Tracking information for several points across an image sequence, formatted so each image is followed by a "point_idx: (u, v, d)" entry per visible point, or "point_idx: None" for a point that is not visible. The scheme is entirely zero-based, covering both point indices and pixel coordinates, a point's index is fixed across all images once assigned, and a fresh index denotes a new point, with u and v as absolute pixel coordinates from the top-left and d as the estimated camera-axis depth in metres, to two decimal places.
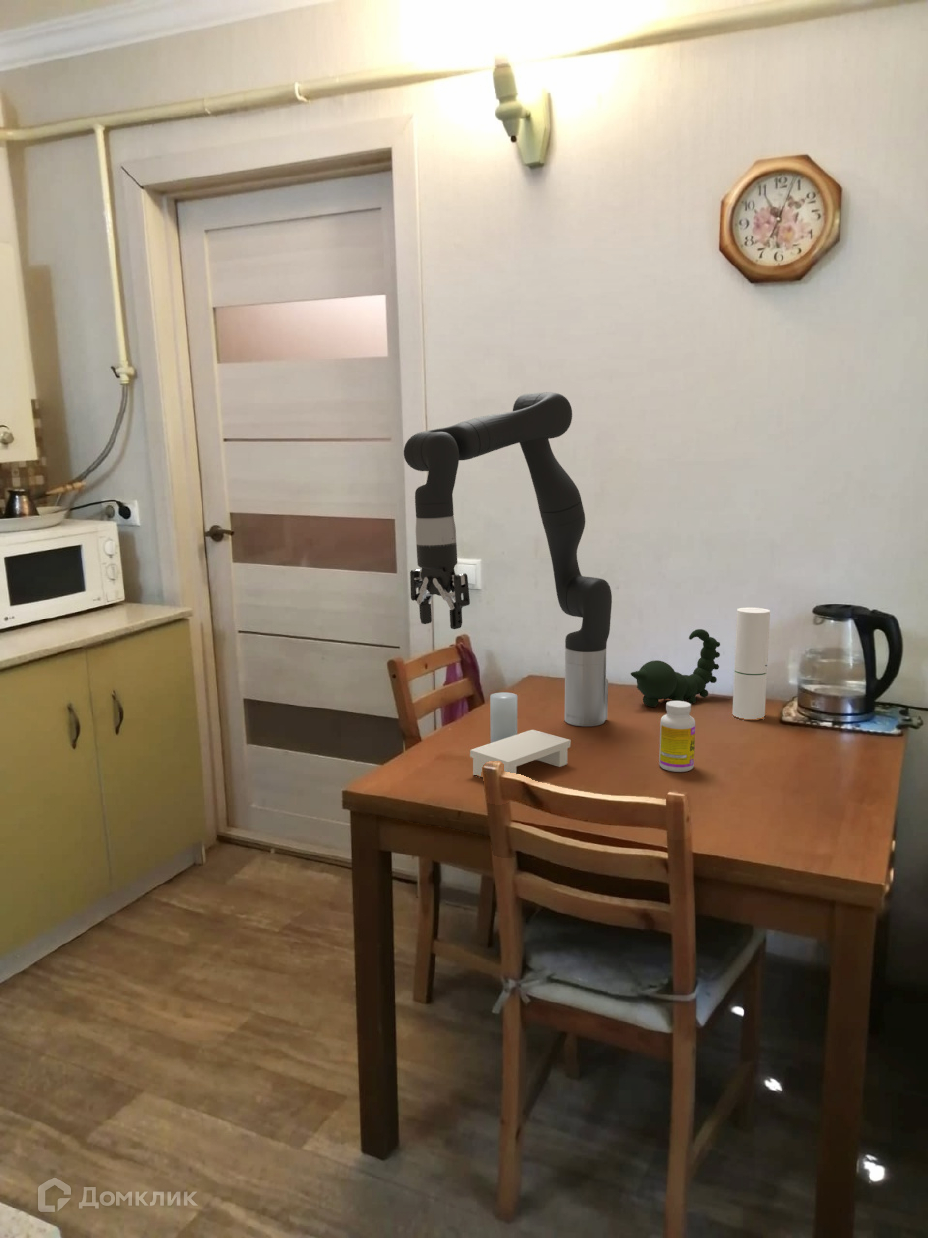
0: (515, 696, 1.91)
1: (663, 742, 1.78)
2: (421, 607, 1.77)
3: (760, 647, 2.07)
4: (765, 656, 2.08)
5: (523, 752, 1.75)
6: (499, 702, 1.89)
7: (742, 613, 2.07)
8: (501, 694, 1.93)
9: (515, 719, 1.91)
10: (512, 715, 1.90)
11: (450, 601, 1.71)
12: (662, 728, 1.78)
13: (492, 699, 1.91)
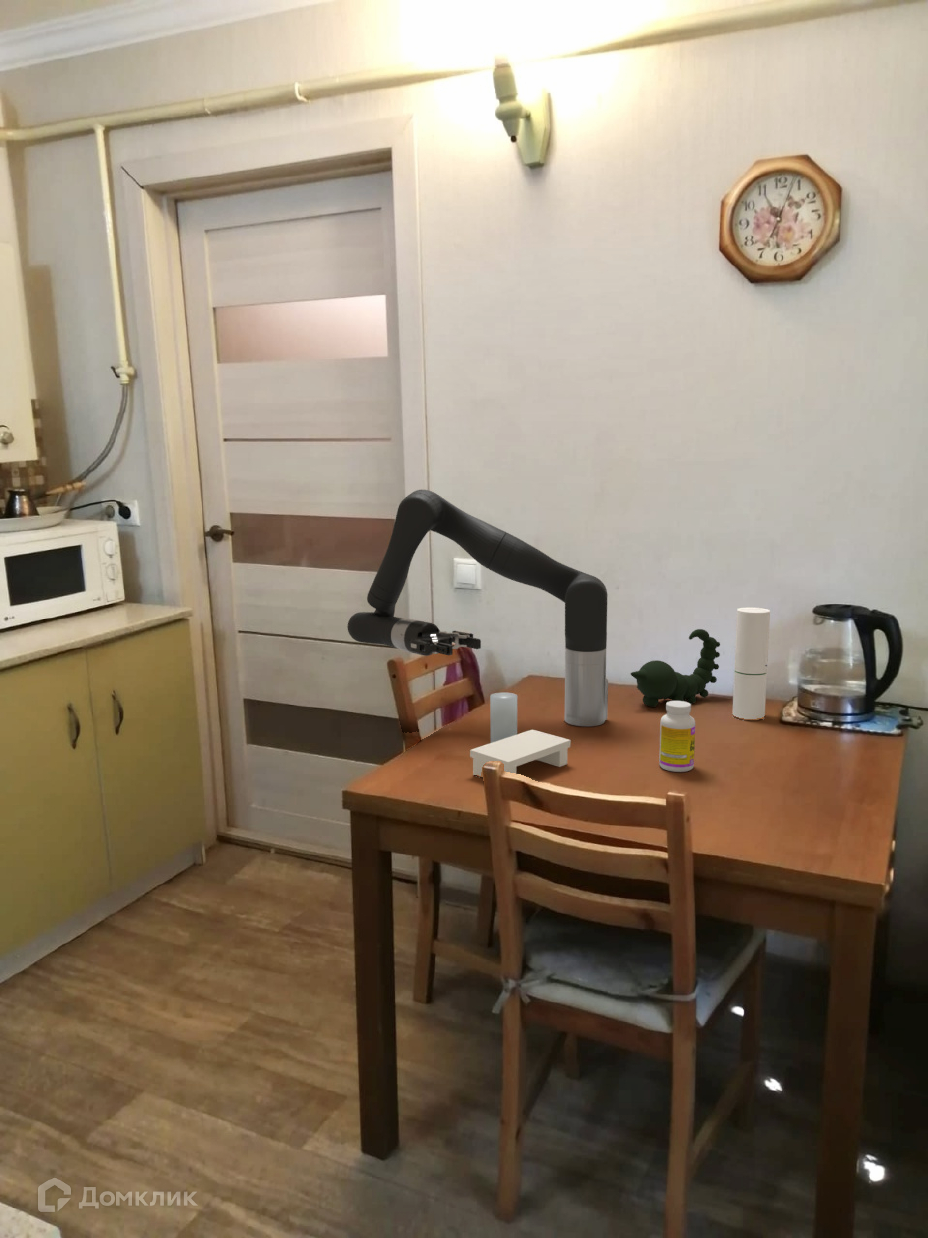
0: (515, 696, 1.91)
1: (663, 742, 1.78)
2: None
3: (760, 647, 2.07)
4: (765, 656, 2.08)
5: (523, 752, 1.75)
6: (499, 702, 1.89)
7: (742, 613, 2.07)
8: (501, 694, 1.93)
9: (515, 719, 1.91)
10: (512, 715, 1.90)
11: None
12: (662, 728, 1.78)
13: (492, 699, 1.91)
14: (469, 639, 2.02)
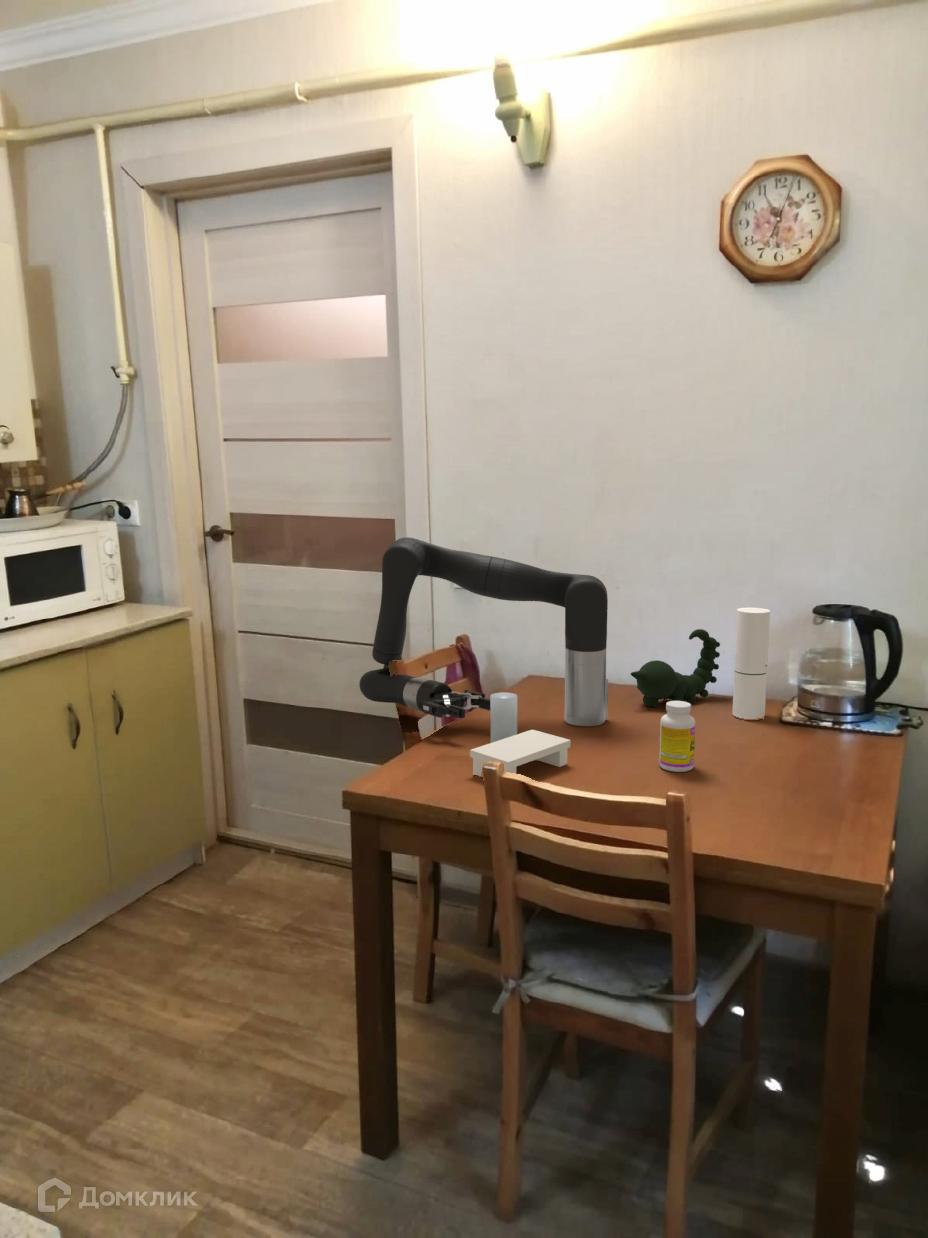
0: (515, 696, 1.91)
1: (663, 742, 1.78)
2: None
3: (760, 647, 2.07)
4: (765, 656, 2.08)
5: (523, 752, 1.75)
6: (499, 702, 1.89)
7: (742, 613, 2.07)
8: (501, 694, 1.93)
9: (515, 719, 1.91)
10: (512, 715, 1.90)
11: None
12: (662, 728, 1.78)
13: (492, 699, 1.91)
14: (481, 700, 2.03)
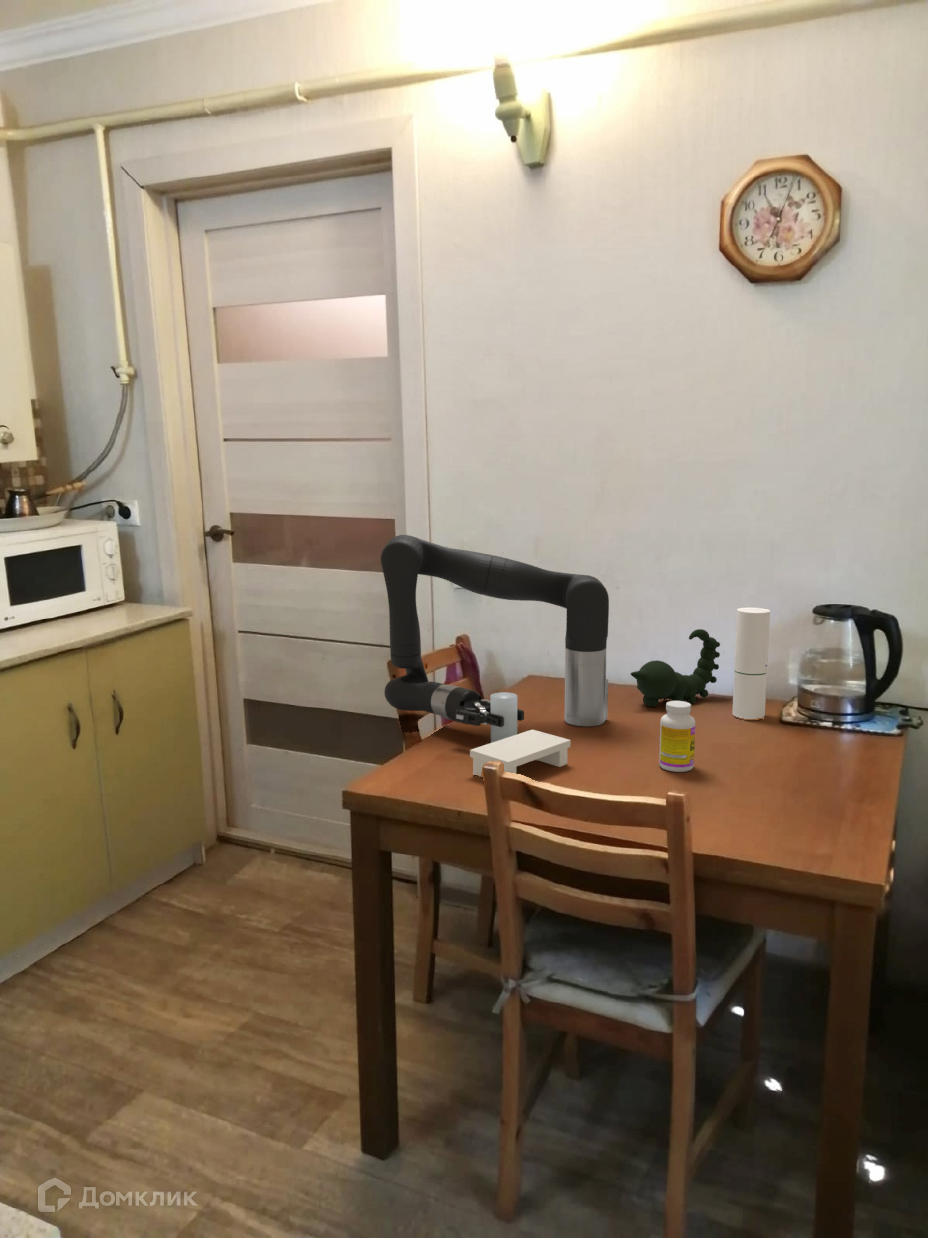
0: (515, 696, 1.91)
1: (663, 742, 1.78)
2: None
3: (760, 647, 2.07)
4: (765, 656, 2.08)
5: (523, 752, 1.75)
6: (499, 702, 1.89)
7: (742, 613, 2.07)
8: (501, 694, 1.93)
9: (515, 719, 1.91)
10: (512, 715, 1.90)
11: None
12: (662, 728, 1.78)
13: (492, 699, 1.90)
14: None
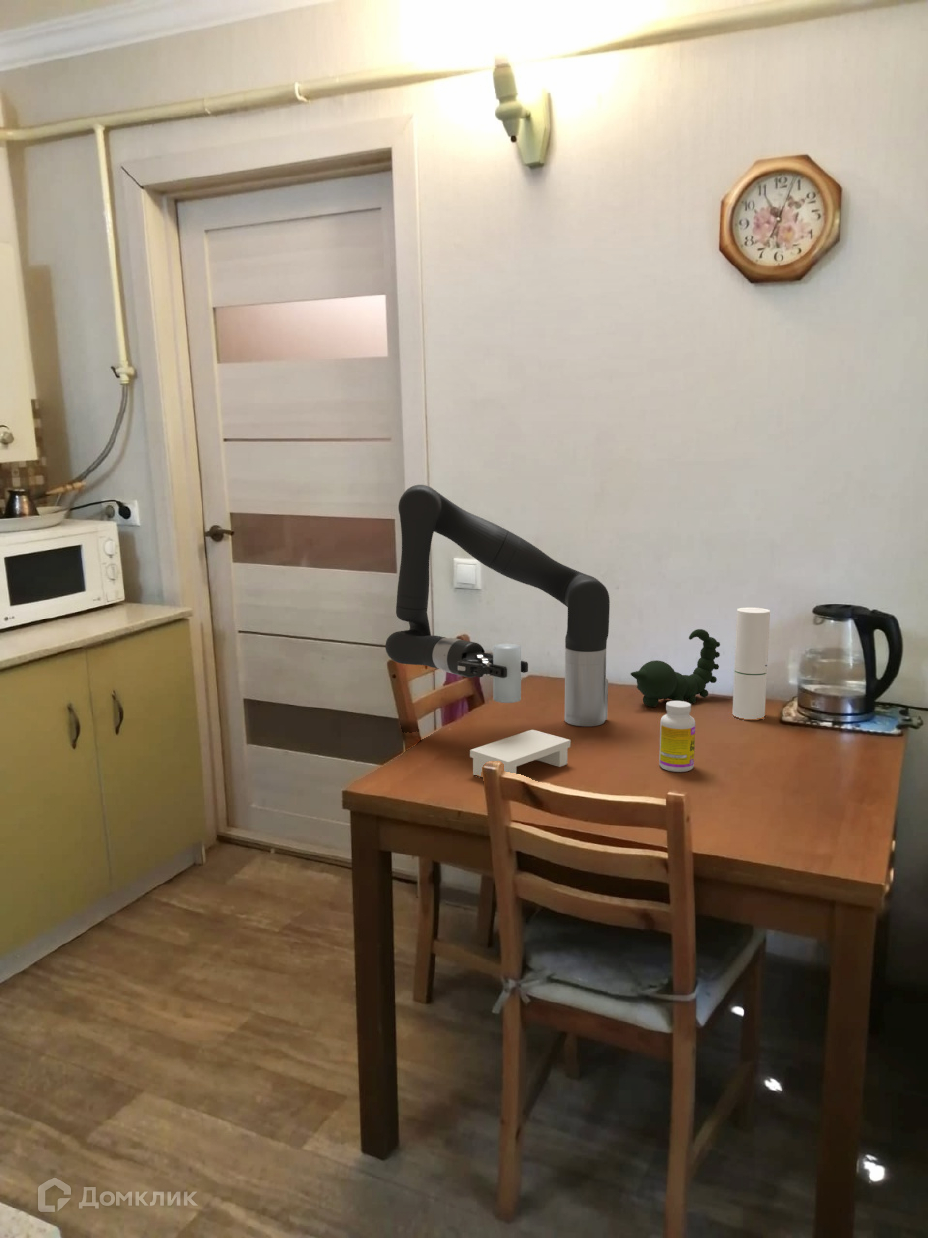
0: (519, 646, 1.85)
1: (663, 742, 1.78)
2: None
3: (760, 647, 2.07)
4: (765, 656, 2.08)
5: (523, 752, 1.75)
6: (502, 653, 1.83)
7: (742, 613, 2.07)
8: (504, 645, 1.87)
9: (519, 671, 1.85)
10: (515, 665, 1.84)
11: None
12: (662, 728, 1.78)
13: (495, 649, 1.85)
14: None
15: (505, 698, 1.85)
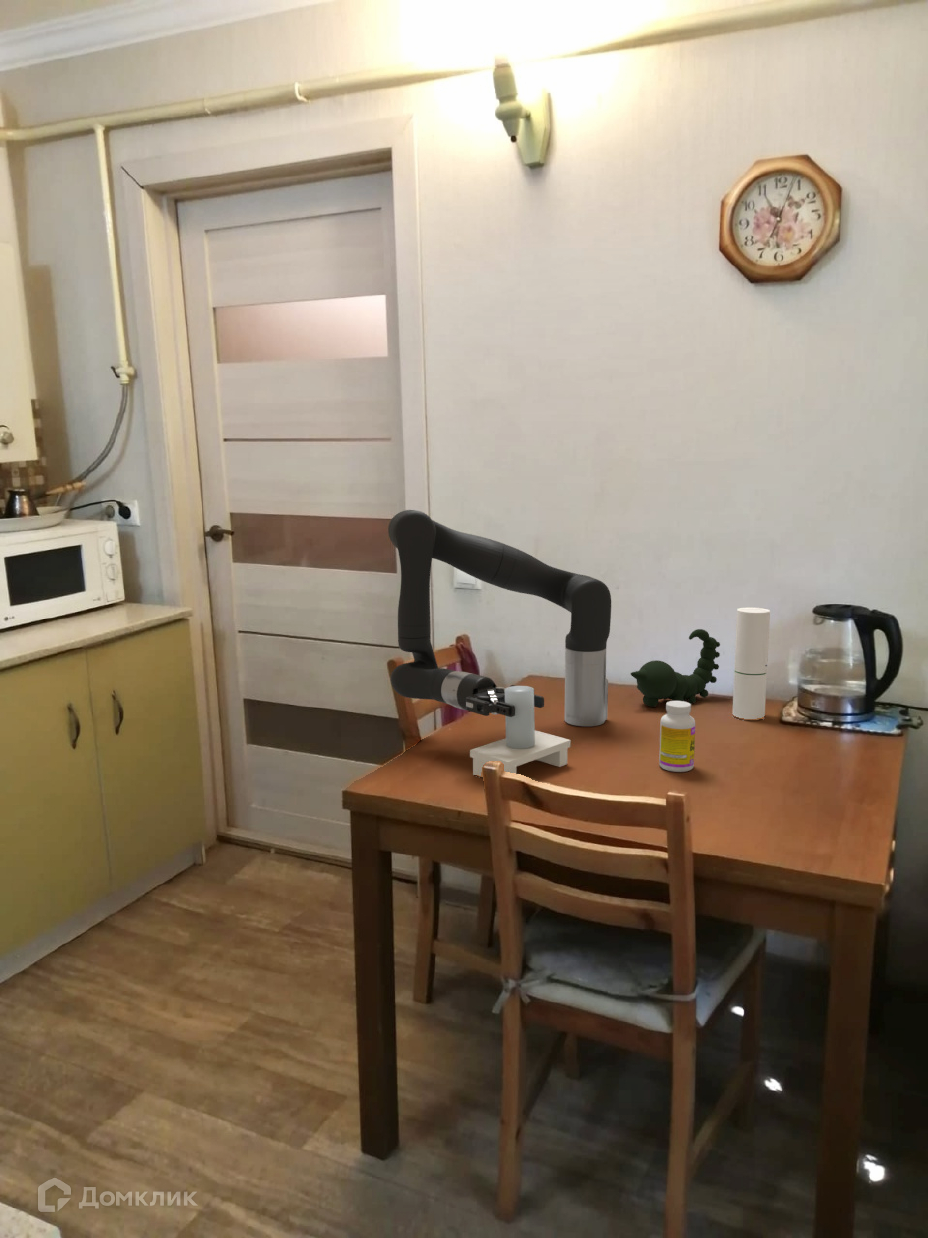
0: (531, 689, 1.77)
1: (663, 742, 1.78)
2: None
3: (760, 647, 2.07)
4: (765, 656, 2.08)
5: (523, 752, 1.75)
6: (515, 696, 1.75)
7: (742, 613, 2.07)
8: (516, 688, 1.78)
9: (532, 714, 1.76)
10: (528, 709, 1.76)
11: None
12: (662, 728, 1.78)
13: (506, 693, 1.76)
14: None
15: (518, 744, 1.76)
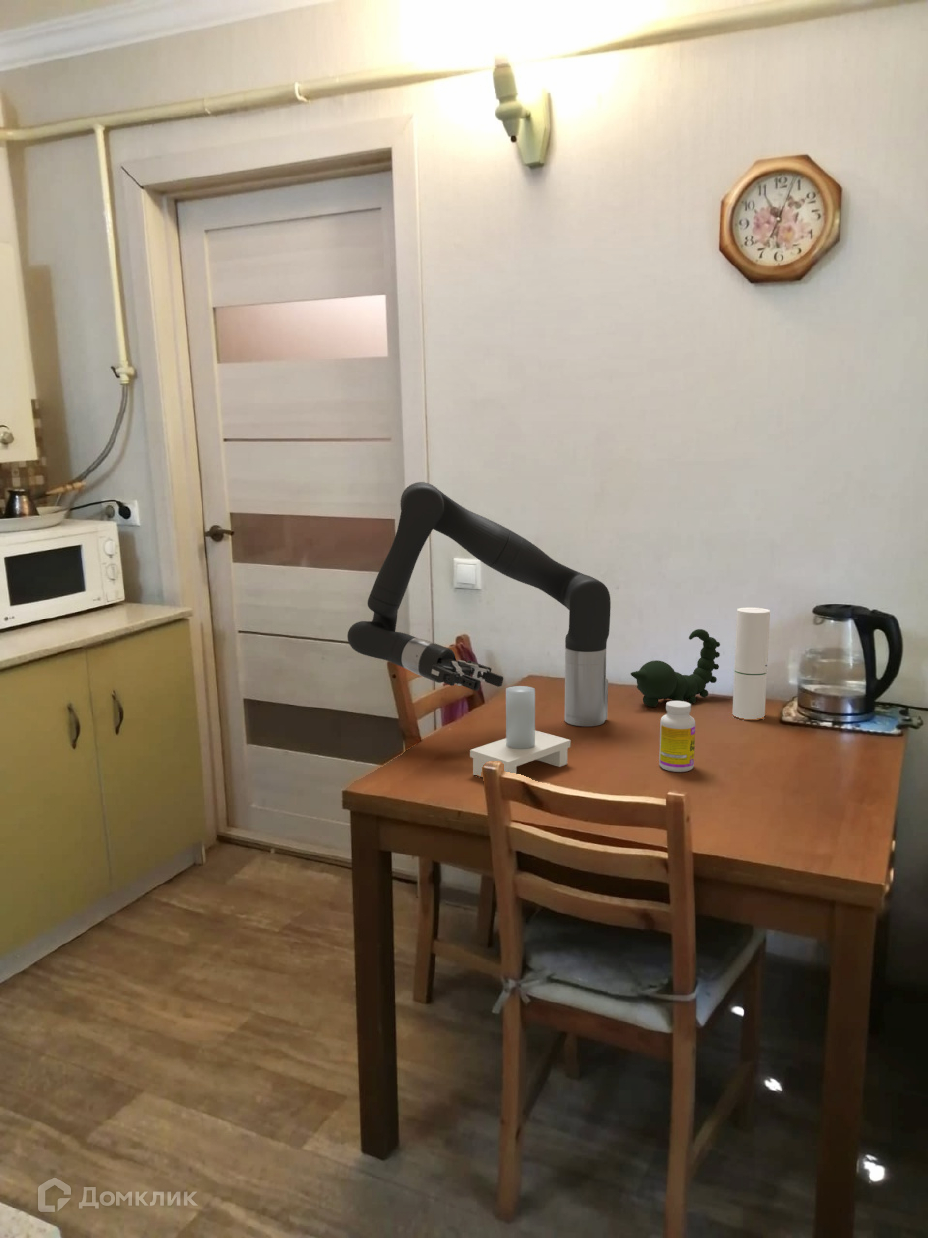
0: (533, 690, 1.77)
1: (663, 742, 1.78)
2: None
3: (760, 647, 2.07)
4: (765, 656, 2.08)
5: (523, 752, 1.75)
6: (516, 696, 1.75)
7: (742, 613, 2.07)
8: (517, 688, 1.78)
9: (533, 715, 1.76)
10: (529, 710, 1.76)
11: None
12: (662, 728, 1.78)
13: (508, 693, 1.76)
14: (490, 674, 1.91)
15: (518, 744, 1.76)
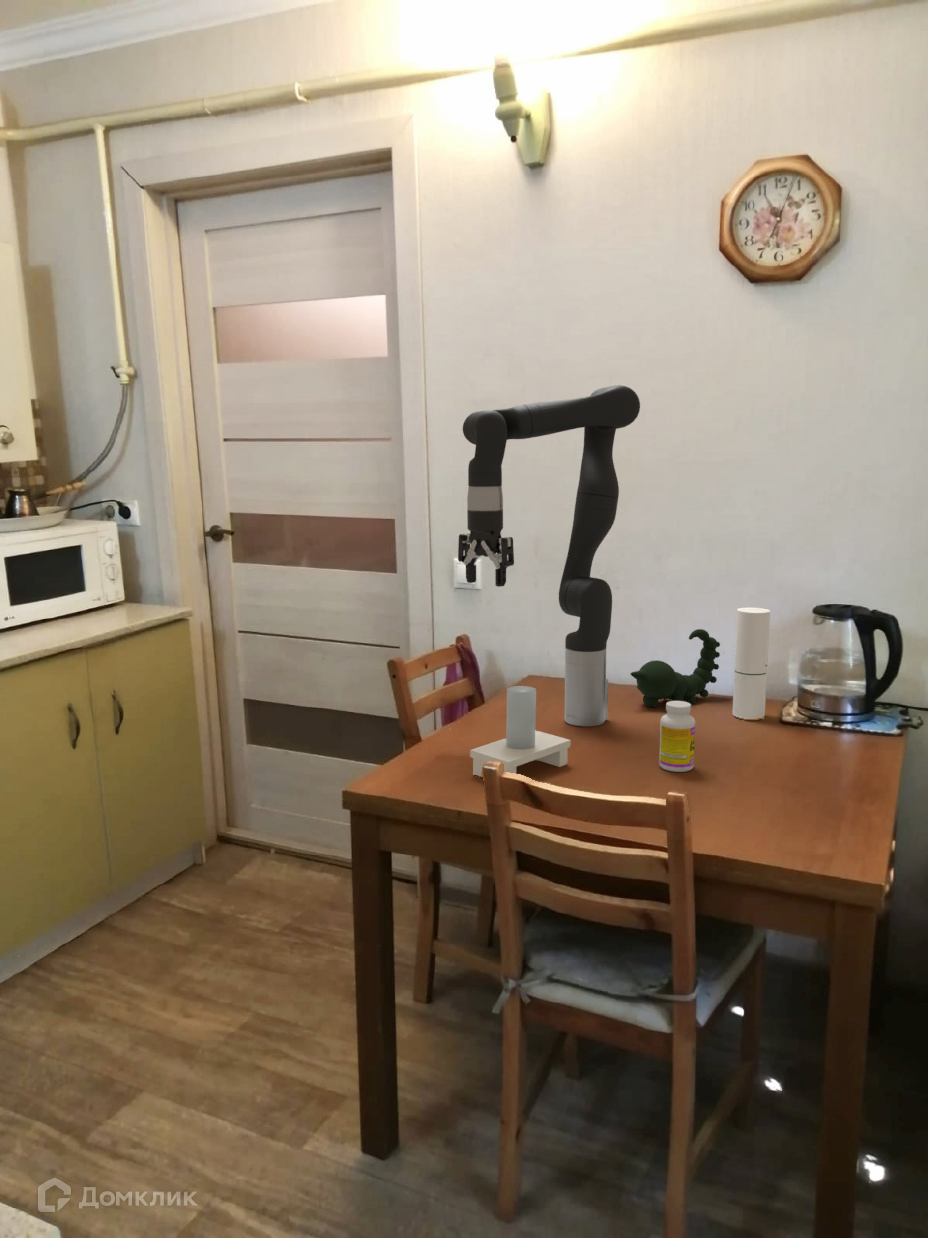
0: (534, 690, 1.76)
1: (663, 742, 1.78)
2: (468, 567, 1.98)
3: (760, 647, 2.07)
4: (765, 656, 2.08)
5: (523, 752, 1.75)
6: (517, 697, 1.75)
7: (742, 613, 2.07)
8: (519, 688, 1.78)
9: (533, 715, 1.76)
10: (530, 710, 1.75)
11: (496, 561, 1.92)
12: (662, 728, 1.78)
13: (509, 693, 1.76)
14: (474, 569, 2.00)
15: (518, 744, 1.76)
